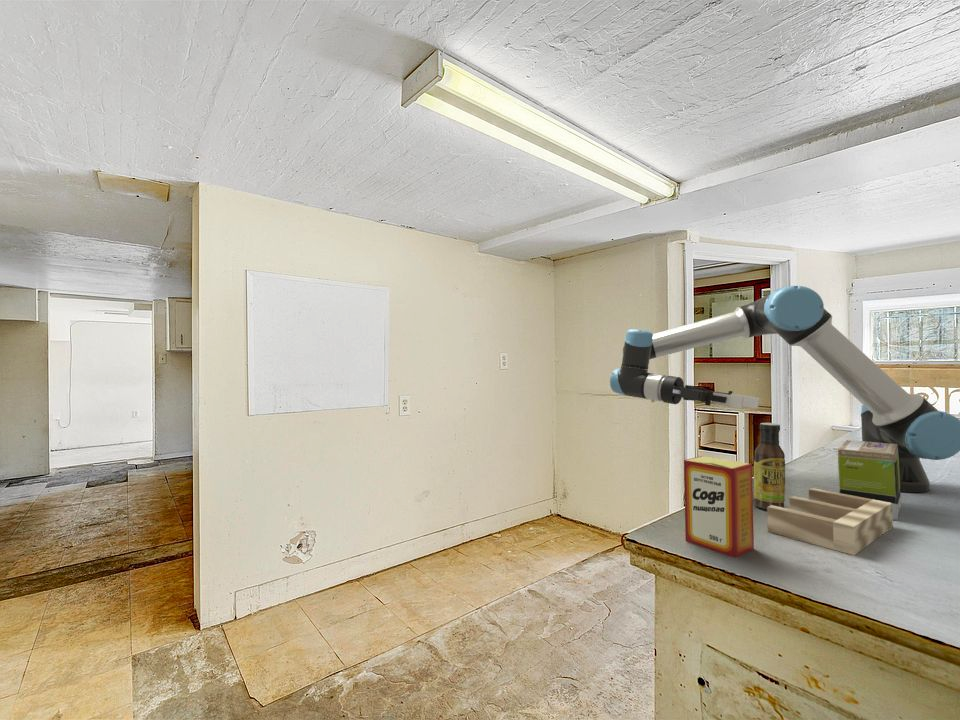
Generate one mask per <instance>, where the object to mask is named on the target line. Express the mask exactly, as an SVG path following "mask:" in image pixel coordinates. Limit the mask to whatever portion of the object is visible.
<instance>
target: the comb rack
mask: <svg viewBox="0 0 960 720" xmlns="http://www.w3.org/2000/svg"><path fill="white" fill-rule="evenodd" d="M788 500H789V501H788V502H789V505H788V506H789V508H786V507H784V508H782V507H778V506H773V505H771V506H768V507H767V509H766V515H767V516H766V517H767V519H766V520H767V521H766V523H767V526H766V527H767V533H771V532H772V533H771V534H774V533H775V535H778V534H779V535H780V536H781V537H786V538H790V539H793V540H797V541H801V542H805V543H807V544H811V545H816V546H819V547H823V548H827V549H830V550H834V551H837V552H842V553H844V554H849V555H852V556H856V555H857V554H858V553H859V552H861V551H862V550H863V549H864V548H866V547H868V546H869V545H870V544H872V543H873V542H874V541H876V540H877V539H878V537H879V538H880V537H881V536H883V535H884V534H885V533H887V532H888V531H889V529H890V528H891V529H893V526H894V525H893V523H894V520H893V516H892V503H890V502H885V501H879V500H874V499H868V498H863V497H858V496H852V495H847V494H841V493H839V492H834V491H830V490H824V489H820V488H819V489H818V488H814V487H812V488H809V489H808V498H804V497H799V496H796V495H795V496H794V495H792V496H790V497H789V498H788ZM891 529H890V530H891ZM887 530H888V531H887ZM886 531H887V532H886ZM882 534H883V535H882ZM779 535H778V536H779Z"/></svg>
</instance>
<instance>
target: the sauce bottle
mask: <svg viewBox="0 0 960 720" xmlns="http://www.w3.org/2000/svg"><path fill="white" fill-rule="evenodd" d="M759 430H760V438H759V444H758V446H757V447H756V448H755V449H754V460H753V504H754V505H755V507H758V508H759V509H763V510H767V507H768V506H771V505H773V506H778V507H782V508H785V501H786V456H785V452H784V450H783V449H782V448H781V446H780V430H781V425H780V424H778V423H776V422H775V423H773V422H761V423H760V424H759Z"/></svg>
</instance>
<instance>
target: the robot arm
mask: <svg viewBox="0 0 960 720" xmlns="http://www.w3.org/2000/svg"><path fill="white" fill-rule="evenodd" d="M824 305H825V304H824V301H823V299H822V297H821V295H819V293H818V292H817V291H815V290H813V289H812V288H810V287H807V286H803V285H790V286H789V285H788V286H785V287H781V288H778V289H776V290H775V291H773V292H771V293H769V294H767V295H764V296H762V297H761V298H759V299H757V300H755V301H753V302H750V303H748V304H744V305H741V306H738V307H736V308H735V310H734V311H732V312H728V313H725V314H722V315H718V316H714V317H710V318H706V319H703V320H700V321H695V322H693V323H689V324H684V325H679V326H678V327H674V328H669V329H666V330H662V331H659V332H655V333H653V332H652V331H648V330H643V329H634V328H633V329H631V328H630V329H628V330H627V331H626V333H625V337H624V344H623V348H622V358H621V359H622V360H621V366H620V367H619V368H615V369H614V370H613V371H612V372H611V376H610V378H609V385H610V388H611V390H612V392H614V393H616V394H619V395H622V396H623V395H624V396H627V397H634V398H638V399H646V400H650V402H651V403H655V402H663V403H666V404H671V405H678V404H679V403H680V402H681V400H682V399H683V401H693V402H695V401H697V402H701V403H704V405H705V406H711V404H713V405H719V406H723V407H730V408H735V409H736V408H737V409H743V407H747V408H751V409H759V405H760V399H761V398H760V397H756V396H755V397H754V396H750V395H742V394H737V393H733V391H732V390H728V392H721V391H713V390H707V388H704V387H697V386H696V385H689V384H685V383H684V379H683V378H681V376H673V375H666V374H663V373H662V374H661V373H654V372H648V371H649V364H650V360H652V359H656V358H660V357H665V356H667V355H671V354H675V353H679V352H683V351H687V350H691V349H696V348H699V347H702V346H703V347H704V346H707V345H711V344H712V345H713V344H715V343H719V342H722V341H726V340H731V339H735V338H739V337H743V338H745V339H749V338H752V337H758V336H762V335H763V336H764V335H774V334H775V335H776V334H778V336H780V337H781V338H782V339H783V340H784V341H785V342H786V343H787V344H788V345H789V346H791V347H793V346H794V347H800V348H802V349H803V350H804V351H805V352H806V353H807V354H808V355H809V356H810V357H811V358H812V359H813V360H814V361H816V362H817V364H819V365H820V366H821V367H822V368H823V369H824V370H825V371H826V372H828V373H829V374H830V376H832V377H833V379H835V380H836V381H837V382H838V383H839V384H841V386H842V387H844V388H845V390H847V392H848V393H850V394H851V395H852V396H853V397H854V398H856V399H857V401H858V402H859V403H861V404H862V406H861V410H860V418H861V419H860V421H861V441H865V442H878V443H889V444H897V445H898V454H899V472H900V491H901V492H902V493H904V492H905V493H926V492H929V491H930V486H931V485H930V480H929V478H928V475H927V473H926V471H925V469H924V466H923V465H922V463H921V460H920V459H923V460H930V461H933V460H934V461H939V460H940V461H941V460H946V459H949V458H951V457H954V456H955V455H956V454H958V453H959V452H960V419H959V418H957V417H956V416H954V415H952V414H951V413H948V412H945V411H939V410H938V409H937V408H936V407H935V406H934V405H933V404H931V403H930V401H928V400H927V399H926V398H925V397H923V396H922V394H919V393H918V394H917V393H916V394H915V393H908V392H907V391H906V390H905V389H904V388H903V387H902V386H901V385H900V384H898V383H897V382H896V381H895V380H894V379H893V378H892V377H890V376H889V375H888V374H887V373H886V372H885V371H884V370H883V369H882V368H880V366H878V364H877V363H875V362H874V361H873V360H872V359H871V358H870V357H869V356H867V355H866V353H864V352H863V351H862V350H861V349H860V348H859V347H857V346H856V345H855V344H854V343H853V342H851V340H850V339H849V338H847V337H846V336H845V335H844V334H843V333H842V332H841V331H840V330H839V329H838V328H836V327H835V326H834V325H833V315H832V314H831V313H830V312H829V311H827V310H826V308H824ZM684 385H685V386H684Z"/></svg>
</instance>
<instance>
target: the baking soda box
mask: <svg viewBox="0 0 960 720" xmlns="http://www.w3.org/2000/svg"><path fill="white" fill-rule="evenodd" d="M683 474H684V475H683V476H684V477H683V480H684V481H683V482H684V483H683V484H684V522H685V523H684V524H685V525H684V526H685V527H684V530H685V535H684V537H685V541H686V542H688V543H691V544H695V545H698V546H700V547H702V548H706V549H709V550H712V551H715V552H718V553H721V554H724V555H727V556H730V557H732V558H738V557H740V556H742V555H744V554H746V553H748V552H751V551H752V550H754V549H755V543H754V542H755V540H754V537H755V536H754V535H755V533H754V532H755V531H754V505H753V504H754V485H753V464H752V463H749V462H744V461H743V462H741V461H737V460H733V459H726V458H724V459H722V458H717V457H716V458H715V457H709V456H705V455H701V456H696V457H691V458H687V459H684V460H683Z"/></svg>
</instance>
